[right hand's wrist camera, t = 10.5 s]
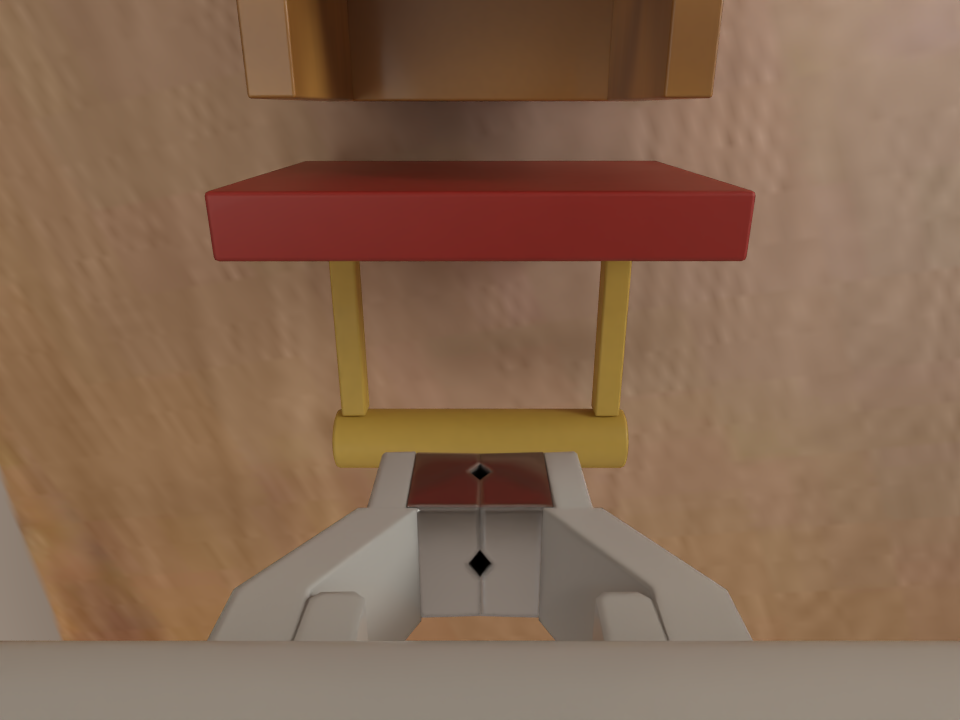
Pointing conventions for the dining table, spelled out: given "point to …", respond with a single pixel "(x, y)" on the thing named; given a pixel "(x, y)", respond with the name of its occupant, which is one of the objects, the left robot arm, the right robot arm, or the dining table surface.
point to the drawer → (480, 183)
